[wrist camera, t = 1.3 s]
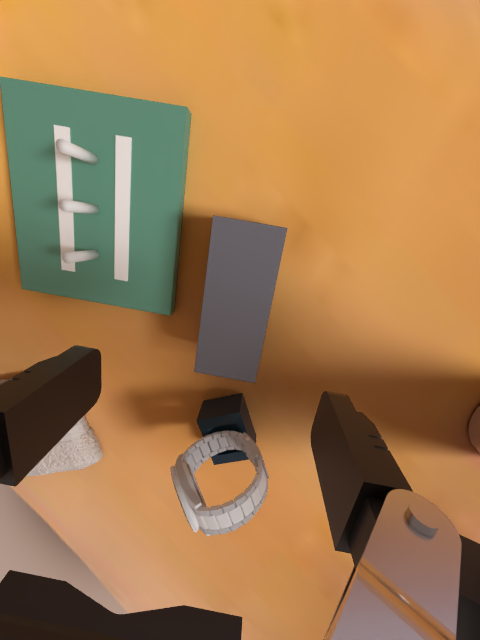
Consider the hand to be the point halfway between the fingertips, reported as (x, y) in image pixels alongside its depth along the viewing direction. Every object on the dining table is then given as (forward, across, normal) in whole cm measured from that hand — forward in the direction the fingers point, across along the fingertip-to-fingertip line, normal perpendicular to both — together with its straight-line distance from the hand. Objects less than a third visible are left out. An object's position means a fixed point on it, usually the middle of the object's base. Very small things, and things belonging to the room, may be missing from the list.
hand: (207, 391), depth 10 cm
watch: (+16, -1, +14) cm, 21 cm away
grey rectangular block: (+16, 0, 0) cm, 16 cm away
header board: (+16, +13, -5) cm, 21 cm away
